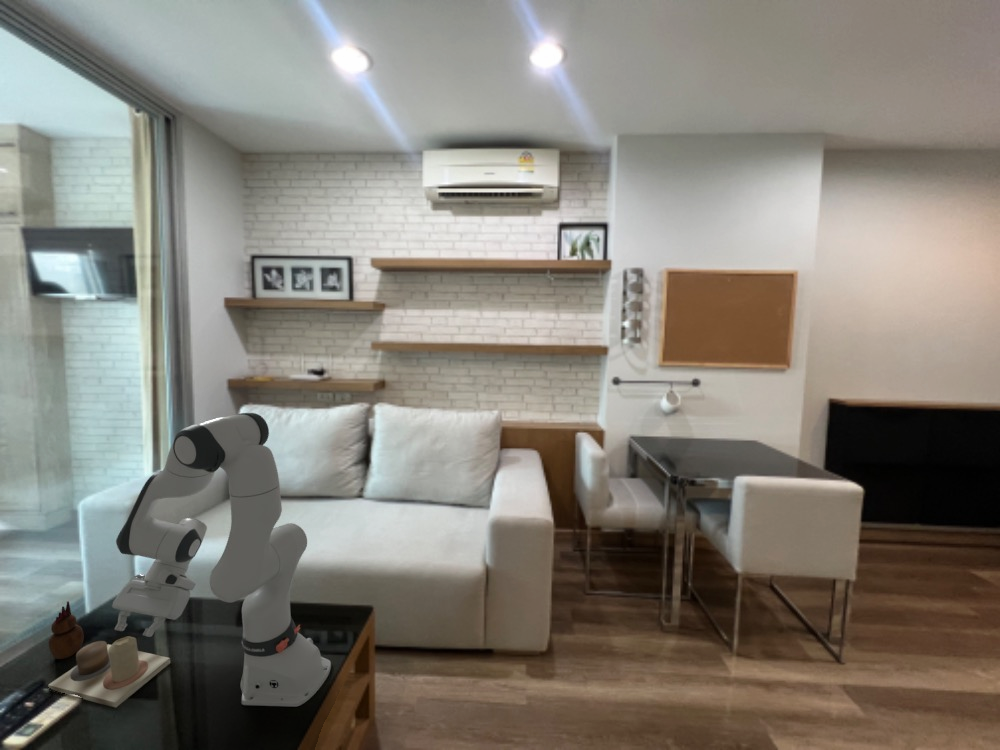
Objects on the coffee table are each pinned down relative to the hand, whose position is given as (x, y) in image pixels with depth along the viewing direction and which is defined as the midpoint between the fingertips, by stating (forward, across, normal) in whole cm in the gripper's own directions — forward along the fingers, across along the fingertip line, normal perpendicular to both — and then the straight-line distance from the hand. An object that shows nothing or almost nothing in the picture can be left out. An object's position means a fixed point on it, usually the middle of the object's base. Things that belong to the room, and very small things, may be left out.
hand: (132, 633), depth 114 cm
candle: (+9, 0, +5) cm, 10 cm away
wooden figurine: (+8, -25, +8) cm, 28 cm away
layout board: (+10, -5, +6) cm, 13 cm away
